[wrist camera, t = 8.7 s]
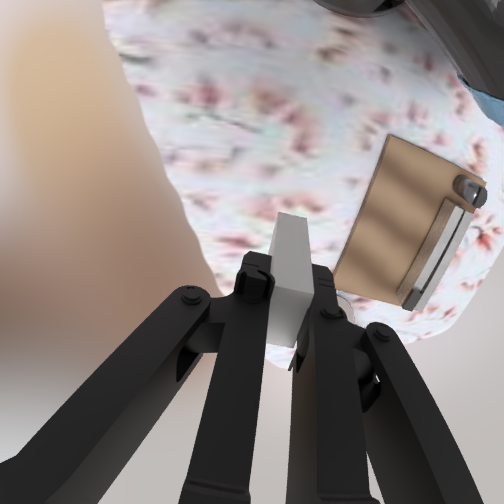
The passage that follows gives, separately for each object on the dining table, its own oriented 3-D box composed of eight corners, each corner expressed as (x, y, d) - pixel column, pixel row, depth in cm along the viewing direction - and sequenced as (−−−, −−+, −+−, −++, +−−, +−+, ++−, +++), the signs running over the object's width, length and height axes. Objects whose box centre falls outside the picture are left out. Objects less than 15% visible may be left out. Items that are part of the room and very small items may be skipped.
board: (388, 134, 35) (391, 135, 34) (482, 179, 35) (486, 182, 34) (328, 283, 45) (329, 287, 44) (418, 306, 46) (421, 311, 45)
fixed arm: (457, 171, 34) (477, 183, 30) (473, 179, 34) (494, 192, 30) (399, 293, 44) (409, 316, 39) (415, 297, 44) (426, 320, 39)
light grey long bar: (445, 197, 36) (458, 208, 33) (453, 202, 36) (467, 212, 33) (395, 293, 43) (402, 309, 40) (404, 296, 43) (411, 312, 40)
